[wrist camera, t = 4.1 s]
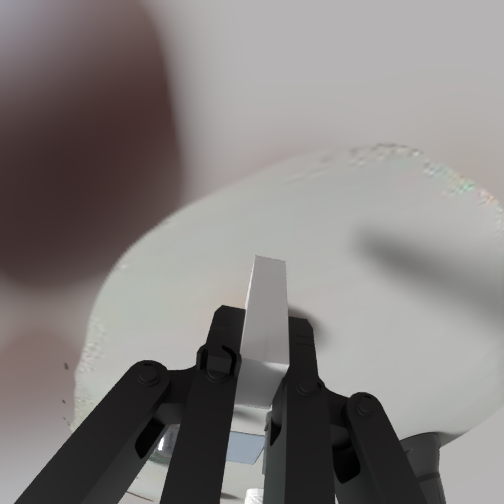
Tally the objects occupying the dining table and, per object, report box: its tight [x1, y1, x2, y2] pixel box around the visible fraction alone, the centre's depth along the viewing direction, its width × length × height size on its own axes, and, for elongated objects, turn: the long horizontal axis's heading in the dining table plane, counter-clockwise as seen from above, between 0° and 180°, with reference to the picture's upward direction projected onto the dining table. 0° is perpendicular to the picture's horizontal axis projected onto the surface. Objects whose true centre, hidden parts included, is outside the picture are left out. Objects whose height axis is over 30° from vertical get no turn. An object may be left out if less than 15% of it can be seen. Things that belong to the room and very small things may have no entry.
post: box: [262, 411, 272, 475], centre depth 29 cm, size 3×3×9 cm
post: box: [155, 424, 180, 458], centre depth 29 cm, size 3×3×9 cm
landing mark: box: [226, 431, 265, 465], centre depth 39 cm, size 14×14×1 cm
